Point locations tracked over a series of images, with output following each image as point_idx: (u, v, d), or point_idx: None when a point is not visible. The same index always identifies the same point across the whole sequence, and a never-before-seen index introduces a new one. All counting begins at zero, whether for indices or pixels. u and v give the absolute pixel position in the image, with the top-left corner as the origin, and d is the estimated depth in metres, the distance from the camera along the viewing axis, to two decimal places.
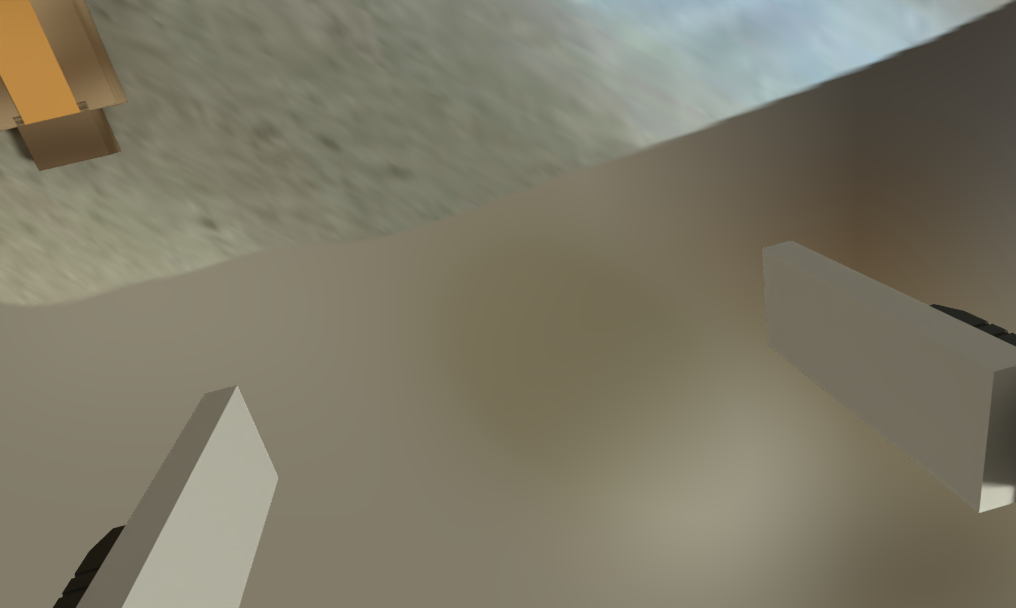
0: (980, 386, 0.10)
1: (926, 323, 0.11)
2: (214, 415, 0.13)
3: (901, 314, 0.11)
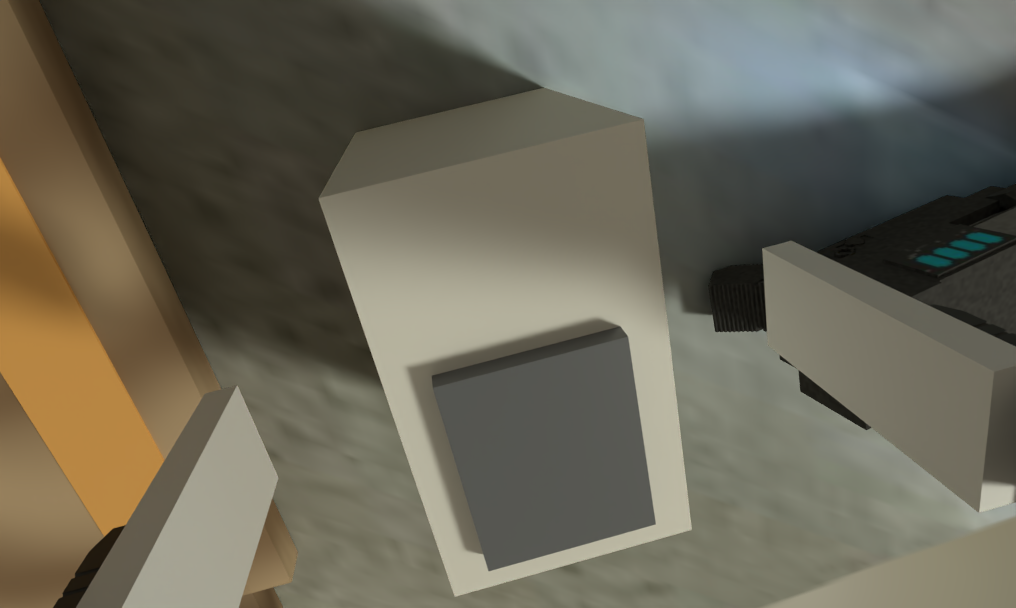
0: (980, 386, 0.10)
1: (926, 323, 0.11)
2: (214, 415, 0.13)
3: (901, 314, 0.11)
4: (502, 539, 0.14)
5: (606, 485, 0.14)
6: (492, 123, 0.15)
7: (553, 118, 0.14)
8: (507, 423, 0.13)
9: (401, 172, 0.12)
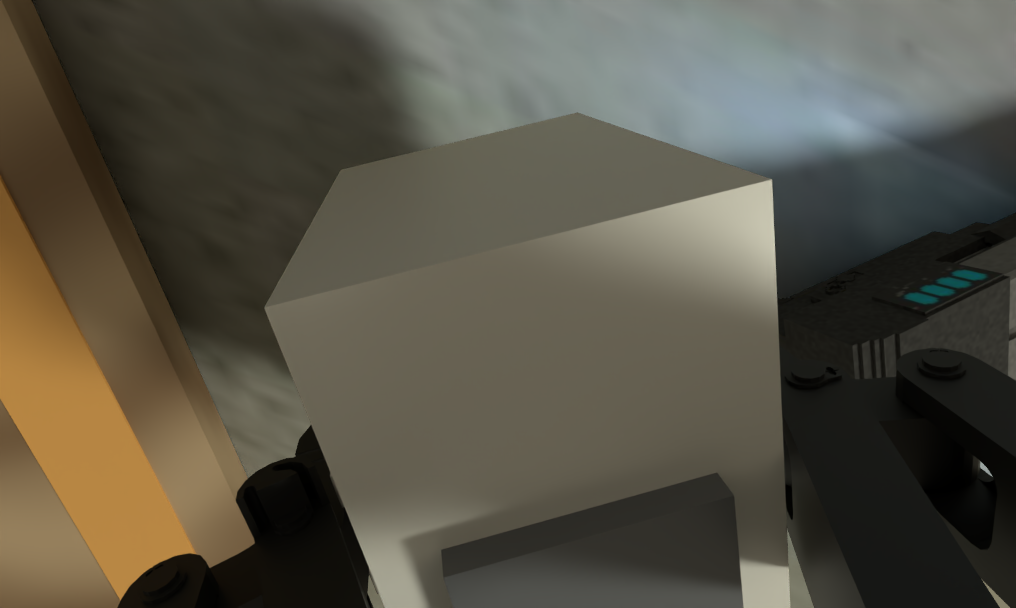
0: None
1: None
2: None
3: None
4: None
5: None
6: (522, 168, 0.11)
7: (613, 166, 0.10)
8: None
9: (396, 259, 0.08)
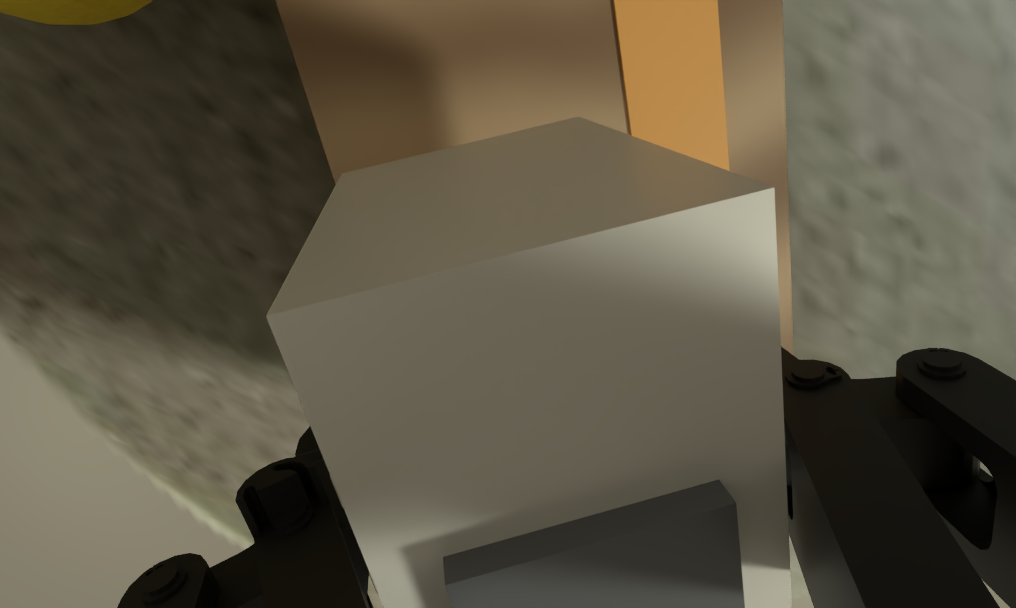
0: None
1: None
2: None
3: None
4: None
5: None
6: (524, 174, 0.11)
7: (615, 172, 0.10)
8: None
9: (398, 267, 0.08)
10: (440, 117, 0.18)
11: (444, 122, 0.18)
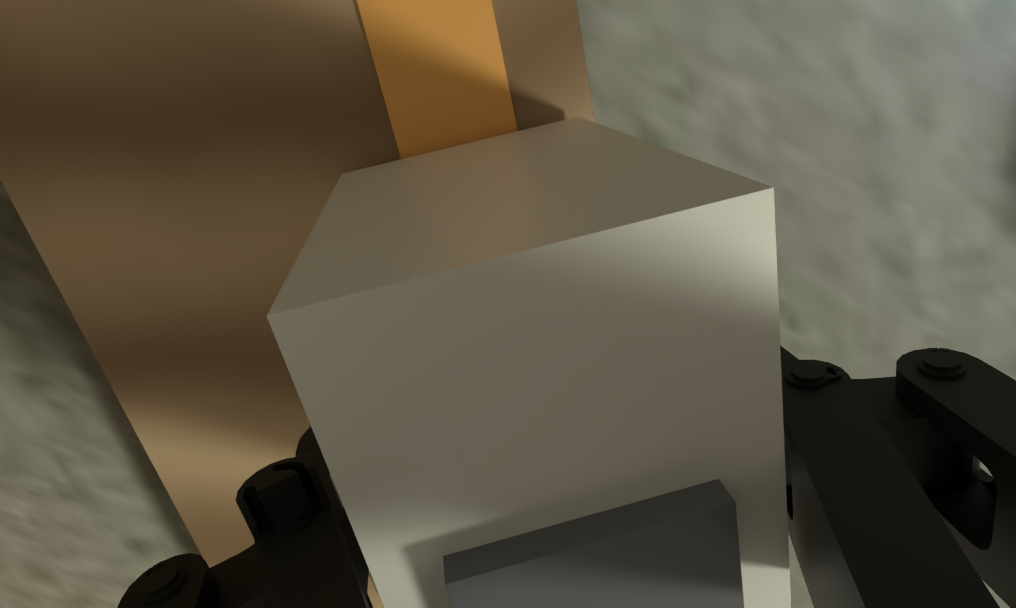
0: None
1: None
2: None
3: None
4: None
5: None
6: (524, 174, 0.11)
7: (614, 172, 0.10)
8: None
9: (398, 267, 0.08)
10: (177, 204, 0.15)
11: (183, 210, 0.15)
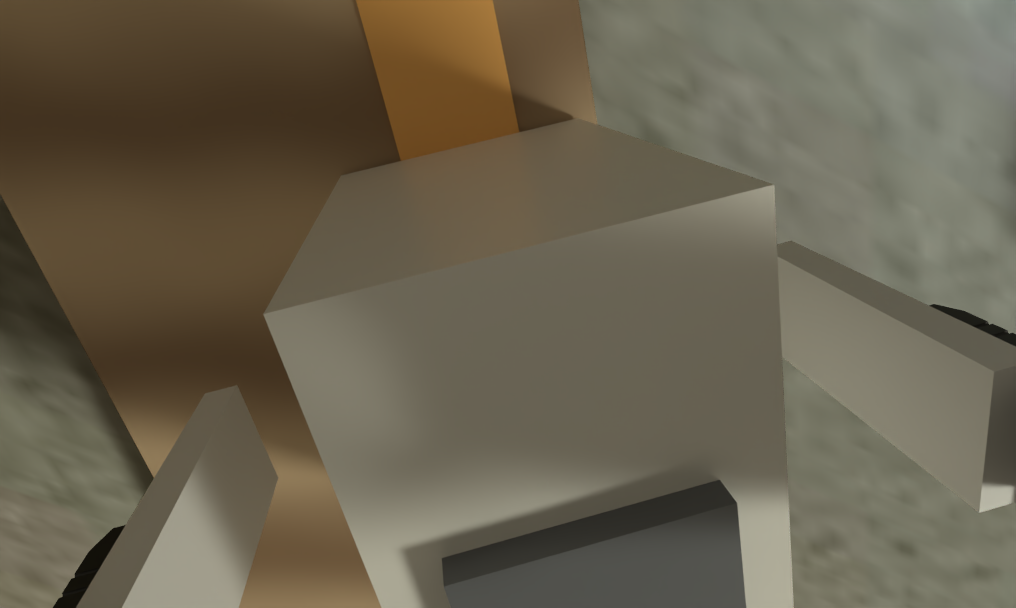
0: (980, 386, 0.10)
1: (926, 323, 0.11)
2: (214, 415, 0.13)
3: (901, 314, 0.11)
4: None
5: None
6: (523, 174, 0.11)
7: (614, 171, 0.10)
8: None
9: (396, 265, 0.08)
10: (173, 206, 0.15)
11: (179, 212, 0.15)
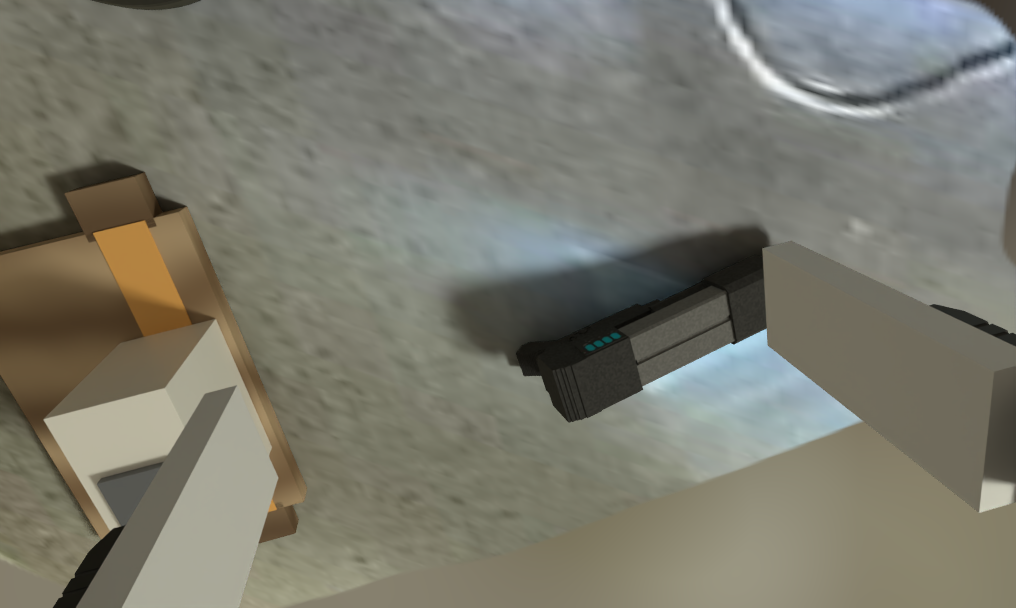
0: (980, 386, 0.10)
1: (926, 323, 0.11)
2: (214, 415, 0.13)
3: (901, 314, 0.11)
4: None
5: None
6: (148, 364, 0.35)
7: (160, 370, 0.33)
8: (131, 496, 0.32)
9: (79, 405, 0.31)
10: (54, 355, 0.39)
11: (56, 357, 0.39)
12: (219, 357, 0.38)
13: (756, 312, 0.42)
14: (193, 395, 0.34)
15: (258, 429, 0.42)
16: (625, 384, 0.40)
